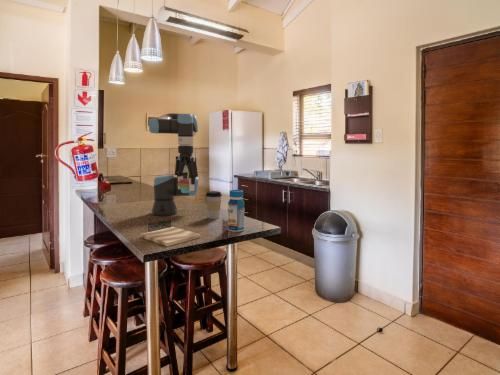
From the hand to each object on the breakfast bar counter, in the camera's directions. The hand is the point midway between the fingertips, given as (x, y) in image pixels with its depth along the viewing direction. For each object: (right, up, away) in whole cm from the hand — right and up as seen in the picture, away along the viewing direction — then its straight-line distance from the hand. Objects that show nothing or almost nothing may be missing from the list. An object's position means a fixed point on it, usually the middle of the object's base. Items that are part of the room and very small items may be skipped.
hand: (186, 189), depth 167 cm
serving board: (-4, -22, -18) cm, 28 cm away
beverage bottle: (+26, -20, -4) cm, 33 cm away
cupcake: (0, -2, 0) cm, 2 cm away
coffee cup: (+12, -17, +22) cm, 30 cm away
